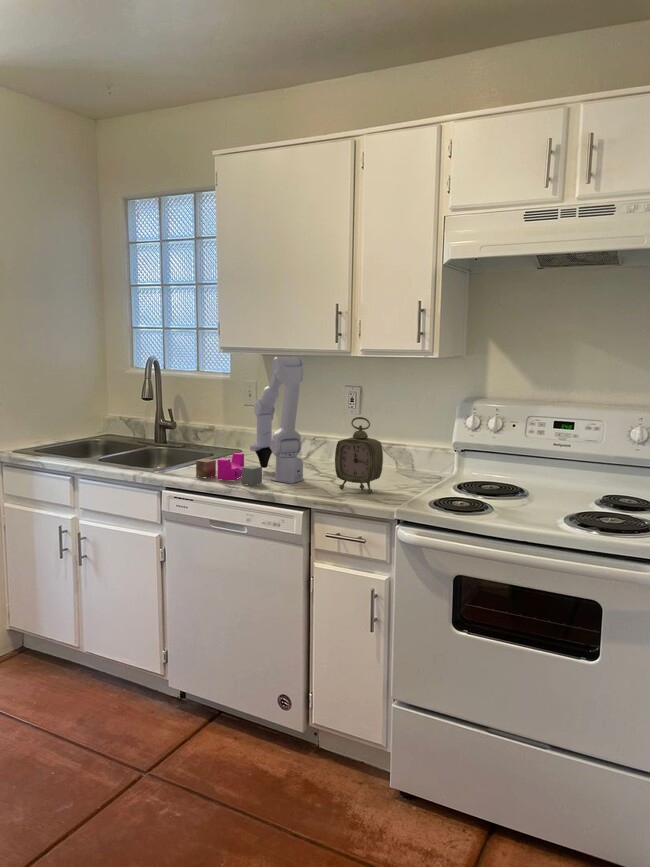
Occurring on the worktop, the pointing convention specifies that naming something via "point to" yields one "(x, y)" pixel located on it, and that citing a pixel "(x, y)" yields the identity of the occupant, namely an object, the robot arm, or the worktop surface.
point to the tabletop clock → (359, 458)
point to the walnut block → (205, 468)
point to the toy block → (231, 467)
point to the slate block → (251, 475)
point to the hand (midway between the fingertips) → (263, 467)
